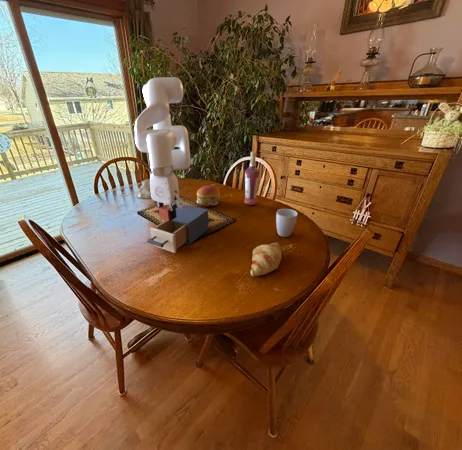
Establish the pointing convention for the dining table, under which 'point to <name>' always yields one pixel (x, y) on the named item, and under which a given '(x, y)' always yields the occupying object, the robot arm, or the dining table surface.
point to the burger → (208, 196)
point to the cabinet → (192, 221)
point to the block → (164, 212)
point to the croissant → (266, 258)
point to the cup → (285, 221)
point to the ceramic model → (145, 190)
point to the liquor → (251, 182)
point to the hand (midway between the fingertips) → (168, 216)
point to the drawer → (169, 235)
